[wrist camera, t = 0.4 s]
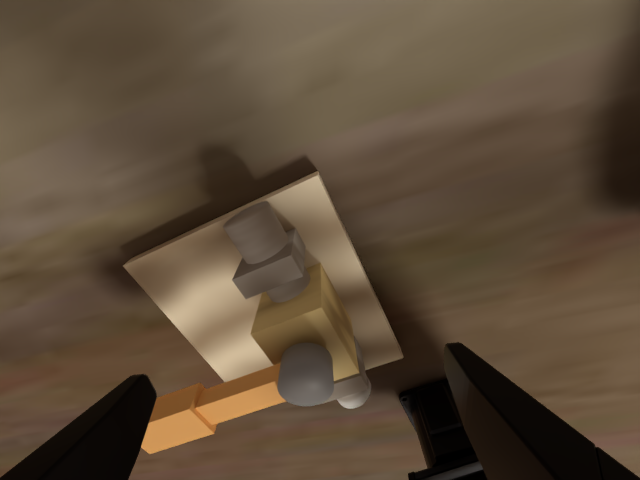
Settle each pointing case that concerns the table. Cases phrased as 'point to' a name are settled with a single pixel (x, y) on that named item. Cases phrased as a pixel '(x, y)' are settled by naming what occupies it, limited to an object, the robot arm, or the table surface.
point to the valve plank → (225, 307)
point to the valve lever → (240, 397)
